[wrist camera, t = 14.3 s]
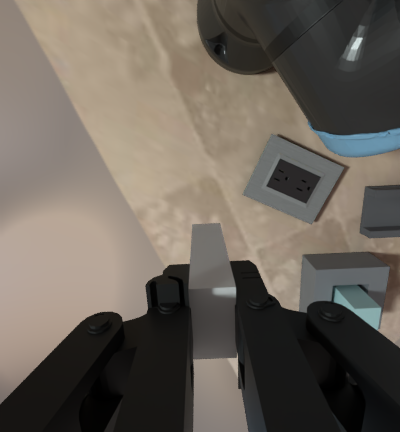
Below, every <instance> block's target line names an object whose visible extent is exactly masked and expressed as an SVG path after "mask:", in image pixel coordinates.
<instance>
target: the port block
mask: <svg viewBox="0 0 400 432" xmlns="http://www.w3.org/2000/svg"><path fill="white" fill-rule="evenodd" d="M389 269H390V266H388V265H387V264H385V263H384V262H382V261H381V260H379V259H378V258H376V257H375V256H373V255H372V254H371V253H369V252H352V253H330V254H308V255H303V256H302V272H301V287H300V303H299V312H305V313H307V307H308V306H309V304H310V303H313V302H316V301H331V299H332V289H333V286H335V285H358V286H359V287H360V288H361V289H362V290H363V291H364V292H365V293H366V294H367V295H368V296H369V297H371V298H372V299H373V300H374V301H375V302H376V303H377V304H378V305H379V306H380V307H381V313H380V320H379V326H378V329H380V325H381V318H382V312H383V306H384V300H385V294H386V288H387V282H388V275H389Z"/></svg>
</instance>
